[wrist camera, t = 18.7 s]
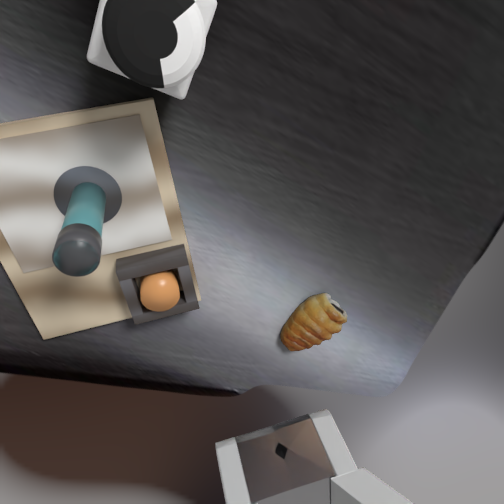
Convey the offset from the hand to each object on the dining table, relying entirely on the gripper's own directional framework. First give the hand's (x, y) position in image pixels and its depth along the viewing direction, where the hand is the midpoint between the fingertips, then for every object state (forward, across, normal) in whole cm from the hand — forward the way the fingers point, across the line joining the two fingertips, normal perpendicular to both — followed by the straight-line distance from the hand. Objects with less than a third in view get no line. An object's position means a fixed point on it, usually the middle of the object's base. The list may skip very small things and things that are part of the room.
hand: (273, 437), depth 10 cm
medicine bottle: (+33, 0, -8) cm, 34 cm away
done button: (+32, +5, +16) cm, 36 cm away
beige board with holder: (+33, +10, +9) cm, 36 cm away
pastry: (+34, -13, +29) cm, 46 cm away
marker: (+32, +9, +5) cm, 33 cm away
